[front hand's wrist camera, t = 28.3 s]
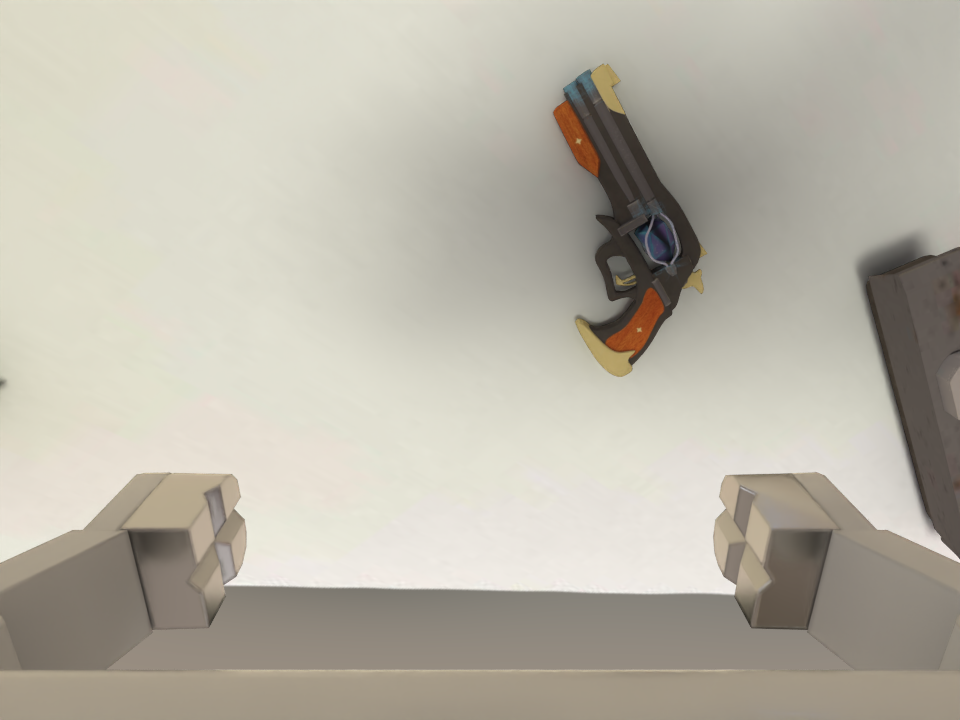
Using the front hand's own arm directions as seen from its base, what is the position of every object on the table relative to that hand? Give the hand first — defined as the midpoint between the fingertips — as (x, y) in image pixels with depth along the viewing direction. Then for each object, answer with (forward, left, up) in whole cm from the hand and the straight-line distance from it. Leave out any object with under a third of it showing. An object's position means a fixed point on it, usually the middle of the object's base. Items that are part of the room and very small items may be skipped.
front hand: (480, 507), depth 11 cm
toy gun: (-6, +6, -34) cm, 35 cm away
